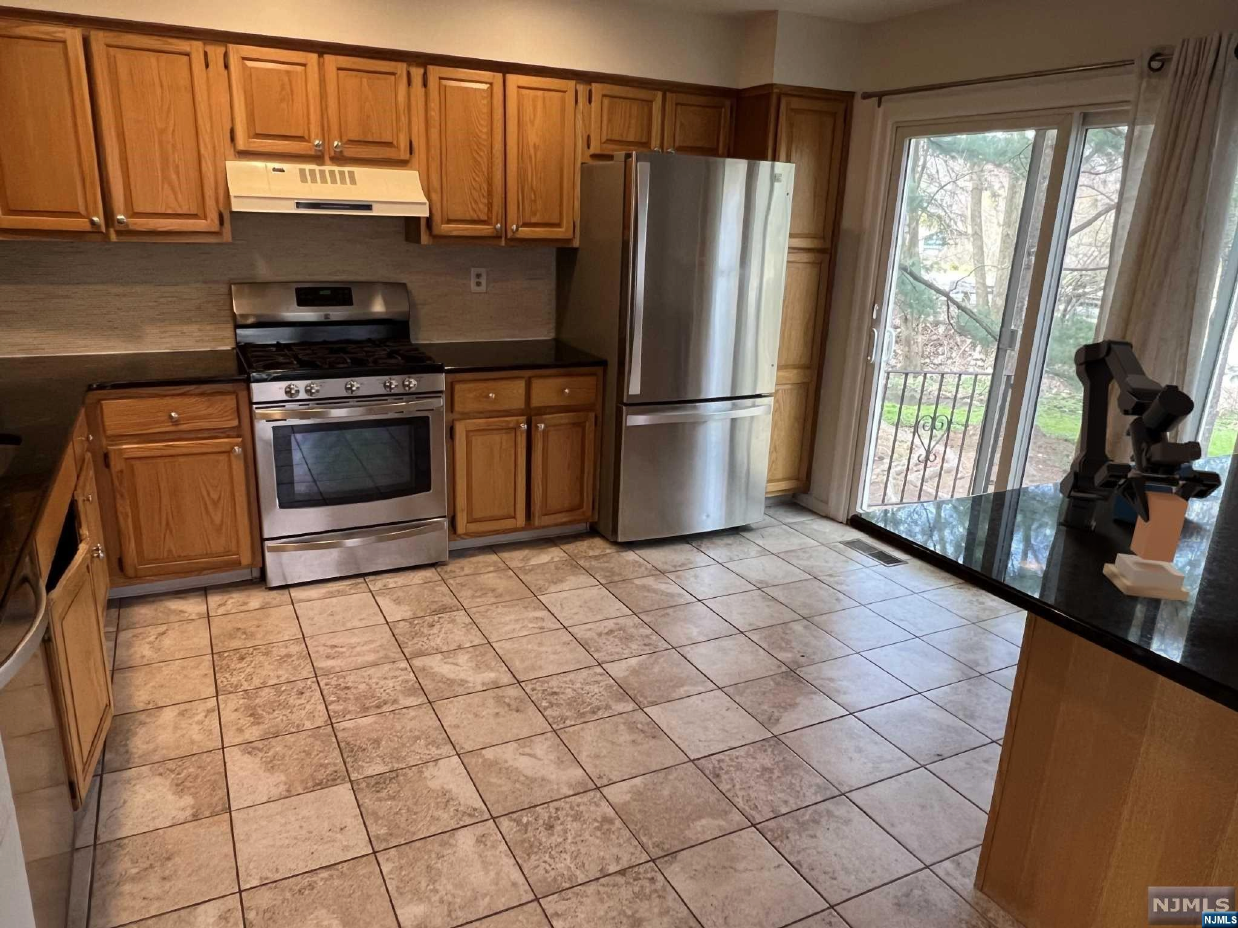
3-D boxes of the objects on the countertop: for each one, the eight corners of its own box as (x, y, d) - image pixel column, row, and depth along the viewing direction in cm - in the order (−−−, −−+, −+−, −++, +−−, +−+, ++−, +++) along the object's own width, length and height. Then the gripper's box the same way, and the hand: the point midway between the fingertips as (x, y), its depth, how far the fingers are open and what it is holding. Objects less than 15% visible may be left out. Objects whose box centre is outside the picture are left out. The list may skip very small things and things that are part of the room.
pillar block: (1130, 548, 152) (1144, 490, 149) (1159, 552, 152) (1174, 493, 148) (1142, 559, 147) (1157, 499, 144) (1172, 562, 147) (1188, 502, 144)
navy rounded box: (1145, 505, 200) (1166, 423, 195) (1186, 516, 194) (1208, 431, 188) (1103, 518, 188) (1124, 431, 183) (1145, 531, 181) (1168, 441, 176)
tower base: (1101, 575, 157) (1104, 563, 156) (1159, 582, 155) (1162, 569, 155) (1124, 598, 147) (1127, 584, 146) (1185, 605, 146) (1189, 591, 145)
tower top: (1114, 566, 155) (1117, 553, 154) (1161, 571, 154) (1165, 559, 153) (1131, 583, 147) (1134, 570, 147) (1181, 589, 146) (1185, 576, 145)
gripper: (1115, 417, 148) (1127, 496, 141) (1230, 427, 145) (1248, 508, 138) (1089, 449, 158) (1098, 524, 150) (1196, 459, 155) (1211, 536, 148)
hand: (1163, 523), depth 146 cm, fingers closed on pillar block, 5 cm apart
